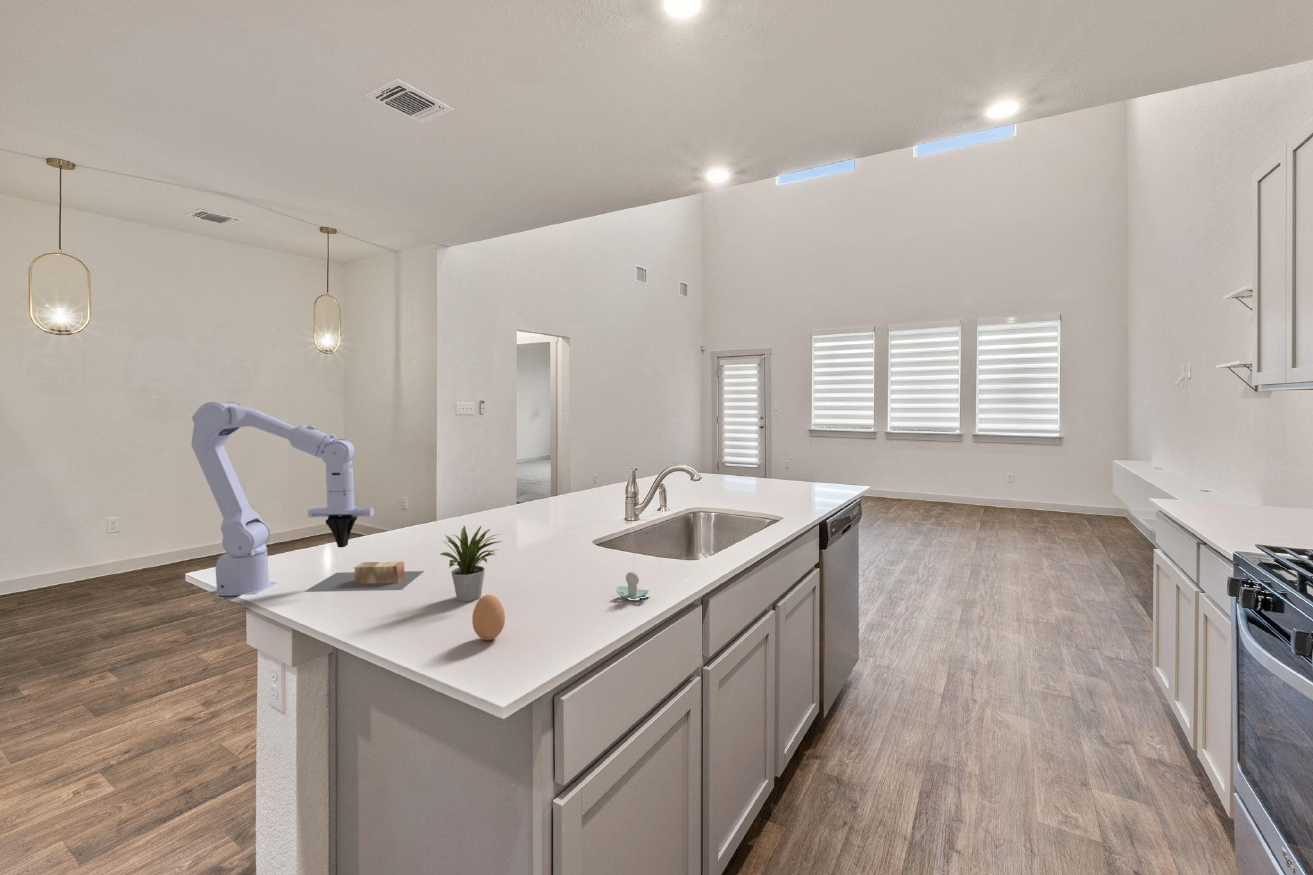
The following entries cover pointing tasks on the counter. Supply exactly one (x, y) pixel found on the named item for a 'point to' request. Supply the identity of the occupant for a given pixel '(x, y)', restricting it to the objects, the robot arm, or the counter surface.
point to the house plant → (469, 565)
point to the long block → (379, 572)
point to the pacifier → (631, 588)
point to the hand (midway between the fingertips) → (342, 546)
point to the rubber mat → (348, 583)
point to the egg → (488, 617)
